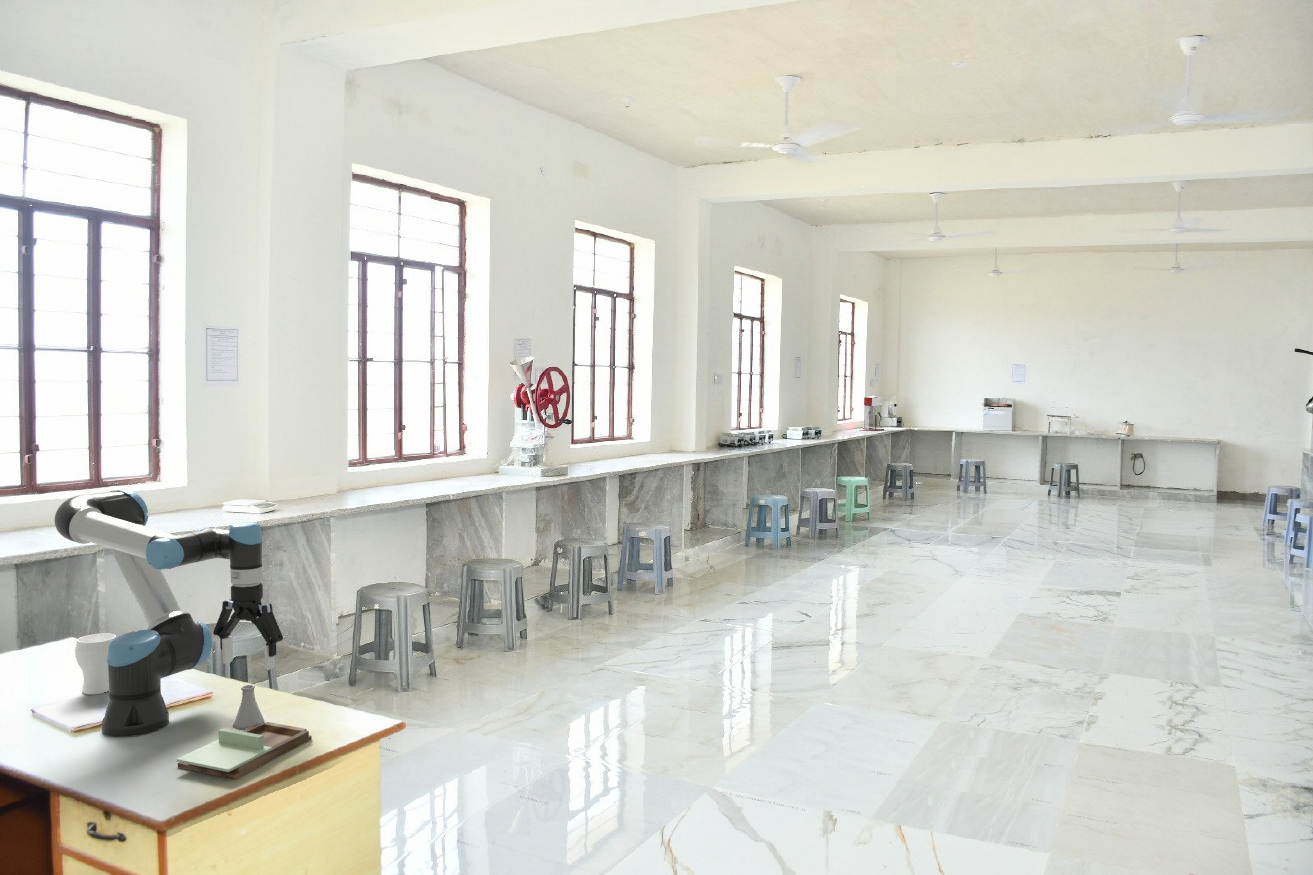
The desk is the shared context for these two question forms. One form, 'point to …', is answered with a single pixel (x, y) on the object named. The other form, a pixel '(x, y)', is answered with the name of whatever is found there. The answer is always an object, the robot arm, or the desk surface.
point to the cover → (227, 751)
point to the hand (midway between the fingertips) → (248, 665)
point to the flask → (248, 709)
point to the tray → (274, 736)
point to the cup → (94, 661)
